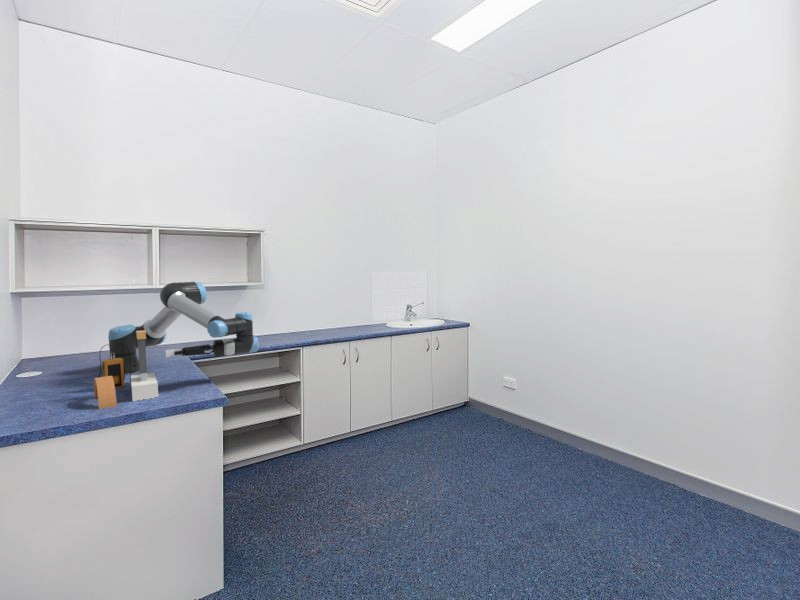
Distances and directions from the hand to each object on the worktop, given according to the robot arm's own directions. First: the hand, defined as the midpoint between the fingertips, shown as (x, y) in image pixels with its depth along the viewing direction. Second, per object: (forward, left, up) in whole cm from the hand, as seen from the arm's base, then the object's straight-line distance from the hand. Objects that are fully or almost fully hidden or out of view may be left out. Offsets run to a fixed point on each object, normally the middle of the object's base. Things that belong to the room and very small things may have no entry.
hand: (165, 353), depth 186 cm
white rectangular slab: (0, -9, -16) cm, 18 cm away
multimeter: (-20, -21, -16) cm, 33 cm away
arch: (+4, -22, -16) cm, 28 cm away
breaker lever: (0, -9, -8) cm, 12 cm away
